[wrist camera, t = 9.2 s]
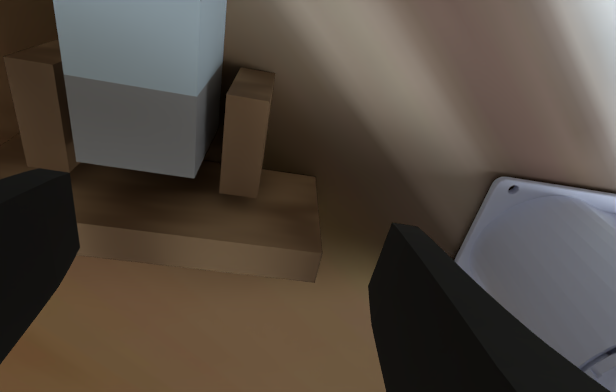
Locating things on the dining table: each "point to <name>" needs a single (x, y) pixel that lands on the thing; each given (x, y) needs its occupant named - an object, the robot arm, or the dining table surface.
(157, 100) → the rail
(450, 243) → the dining table surface
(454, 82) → the dining table surface
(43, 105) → the plank with two pegs
